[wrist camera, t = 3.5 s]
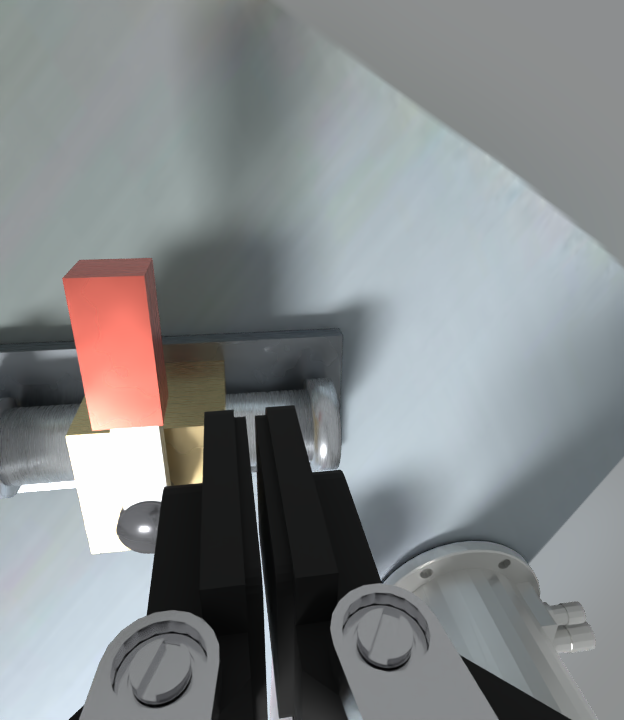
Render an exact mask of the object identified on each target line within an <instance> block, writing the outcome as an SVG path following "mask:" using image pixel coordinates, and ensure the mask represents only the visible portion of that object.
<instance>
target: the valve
mask: <svg viewBox="0 0 624 720" xmlns="http://www.w3.org/2000/svg"><path fill="white" fill-rule="evenodd" d="M162 344H163V353H164V361H165V369H166V378H167V386H168V395H169V396H168V402H167V407H166V413H165V419H164V424H163V427H164V435H165V443H166V451H167V459H168V467H169V474H170V482H171V486H175V485H185V484H196V483H202V478H203V441H204V412H207V411H221V410H234V417H244V416H246V424H247V434H248V444H249V453H250V463H251V472H257V466H256V440H255V416H257V415H265V408H266V407H275V406H289V405H294V406H295V409H296V413H297V416H298V420H299V424H300V428H301V432H302V435H303V439H304V443H305V447H306V451H307V454H308V458H309V462H310V466H311V470H312V471H323V470H334V469H337V468H338V467H339V463H340V457H341V422H340V396H341V371H342V347H343V335H342V333H341V331H340V329H339V328H338V329H317V330H296V331H275V332H254V333H233V334H212V335H191V336H170V337H162ZM76 487H77V489H78V494H79V498H80V503H81V507H82V512H83V516H84V521H85V525H86V530H87V534H88V539H89V543H90V548H91V552H92V554H94V553H104V552H113V551H123V550H131V549H129V548H127V547H126V546H124V545H123V544H122V543H121V542H120V540H119V539H118V537H117V533H116V525H117V521H118V517H119V513H120V509H121V505H122V501H123V500H122V494H121V488H120V483H119V477H118V472H117V466H116V461H115V455H114V449H113V444H112V438H111V433H110V429H108V430H94V431H92V427H91V422H90V417H89V412H88V407H87V402H86V396H85V391H84V386H83V381H82V376H81V371H80V366H79V361H78V356H77V351H76V345H75V341H64V342H43V343H22V344H1V345H0V499H1V498H10V497H13V496H14V495H16V494H17V493H18V492H29V491H41V490H53V489H64V488H76Z"/></svg>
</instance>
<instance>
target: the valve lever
mask: <svg viewBox="0 0 624 720" xmlns="http://www.w3.org/2000/svg"><path fill="white" fill-rule="evenodd" d="M62 279H63V284H64V289H65V294H66V299H67V305H68V310H69V315H70V320H71V325H72V330H73V335H74V340H75V345H76V351H77V356H78V361H79V366H80V371H81V376H82V381H83V386H84V391H85V396H86V402H87V407H88V412H89V417H90V422H91V427H92V431H94V430H108V429H110V433H111V438H112V444H113V449H114V455H115V461H116V466H117V472H118V477H119V483H120V488H121V494H122V500H123V501H122V505H121V509H120V513H119V517H118V521H117V525H116V533H117V537H118V539H119V540H120V542H121V543H122V544H123V545H124V546H126V547H127V548H129V549H131V550H133V551H135V552H139V553H147V554H150V553H155V547H156V539H157V531H158V523H159V515H160V507H161V499H162V493H163V489H164V487H165V486H171V482H170V474H169V467H168V459H167V451H166V443H165V435H164V427H163V424H164V419H165V413H166V407H167V402H168V396H169V395H168V386H167V378H166V369H165V361H164V353H163V344H162V336H161V327H160V319H159V310H158V302H157V294H156V285H155V277H154V268H153V260H152V258H136V259H98V260H79V261H78V262H77V263H76V264H75V265H74V266H73V268H72V269H71V270H70V271H69V272H68V273H67V274H66V275H65V276H64V277H63V278H62Z"/></svg>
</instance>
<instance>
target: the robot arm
mask: <svg viewBox="0 0 624 720" xmlns="http://www.w3.org/2000/svg"><path fill="white" fill-rule="evenodd" d="M255 440H256V466H257V492H258V517H259V535H260V546H261V556H262V565H263V575H264V584H265V594H266V603H267V613H268V622H269V631H270V641H271V650H272V660H273V669H274V679H275V688H276V698H277V707H278V715H279V719H281V718H287V717H292V720H598V718H597V717H596V715H595V713H594V711H593V710H592V708H591V707H590V705H589V703H588V702H587V700H586V698H585V697H584V695H583V694H582V692H581V691H580V689H579V687H578V686H577V684H576V682H575V681H574V679H573V678H572V676H571V674H570V673H569V671H568V670H567V668H566V666H565V664H564V663H563V661H562V660H561V658H560V656H559V655H558V653H564V652H567V653H572V652H579V651H585V650H593V649H594V648H595V646H596V642H595V641H596V639H595V636H594V633H593V630H592V628H591V627H590V625H589V624H588V623H587V622H586V620H585V619H586V615H585V611H584V609H583V607H582V605H581V604H580V603H579V602H568V603H560V604H558V605H554V606H549V605H548V604H547V603H546V602H542V600H541V599H540V588H539V582H538V579H537V578H536V576H535V574H534V572H533V570H532V569H531V567H530V566H529V565H528V563H527V562H526V561H525V559H524V558H523V557H522V556H521V555H519V554H518V553H517V552H516V551H514V550H512V549H510V548H508V547H506V546H504V545H501V544H496V543H492V542H487V541H465V542H456V543H451V544H447V545H444V546H440V547H436V548H434V549H431V550H429V551H427V552H424V553H422V554H420V555H418V556H416V557H415V558H413V559H411V560H409V561H408V562H406V563H405V564H403V565H402V566H401V567H400V568H398V569H397V570H396V571H394V572H393V573H392V574H391V575H390V576H389V577H388V578H387V579H386V581H385V582H384V583H383V584H382V583H381V580H380V577H379V574H378V571H377V568H376V565H375V562H374V560H373V557H372V554H371V551H370V548H369V545H368V542H367V539H366V536H365V533H364V531H363V528H362V525H361V522H360V519H359V516H358V513H357V510H356V507H355V505H354V502H353V499H352V496H351V493H350V490H349V487H348V484H347V481H346V479H345V476H344V474H343V472H342V471H341V470H334V471H323V472H312V470H311V466H310V462H309V458H308V454H307V451H306V447H305V443H304V439H303V435H302V432H301V428H300V424H299V420H298V416H297V413H296V409H295V406H294V405H289V406H275V407H266V408H265V415H257V416H255ZM69 720H268V715H267V688H266V661H265V634H264V607H263V586H262V572H261V561H260V551H259V541H258V532H257V522H256V512H255V502H254V493H253V483H252V473H251V463H250V453H249V444H248V434H247V424H246V416H244V417H234V410H221V411H207V412H204V441H203V478H202V483H196V484H185V485H175V486H165V487H164V489H163V493H162V499H161V507H160V515H159V523H158V531H157V539H156V547H155V555H154V562H153V570H152V578H151V586H150V594H149V602H148V610H147V616H145V617H143V618H140V619H138V620H136V621H135V622H133V623H132V624H130V625H129V626H128V627H126V628H125V629H123V630H122V631H121V632H120V633H119V634H118V635H117V636H116V637H115V639H114V640H113V641H112V642H111V643H110V644H109V645H108V647H107V649H106V651H105V653H104V655H103V657H102V659H101V661H100V663H99V665H98V668H97V671H96V674H95V677H94V679H93V682H92V685H91V688H90V690H89V693H88V696H87V699H86V702H85V704H84V706H83V707H82V708H81V709H79V710H78V711H77V712H76V713H75V714H74V715H73V716H72V717H71V718H70V719H69Z"/></svg>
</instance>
